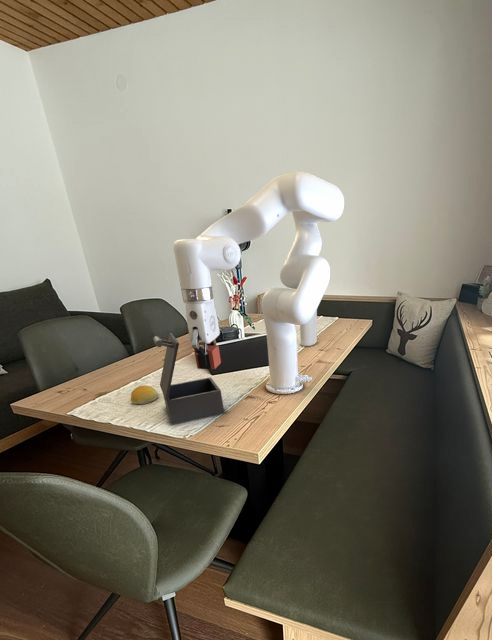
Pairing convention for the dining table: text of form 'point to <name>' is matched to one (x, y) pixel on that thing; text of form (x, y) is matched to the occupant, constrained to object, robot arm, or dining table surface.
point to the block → (211, 356)
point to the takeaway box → (194, 400)
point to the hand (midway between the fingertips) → (209, 364)
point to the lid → (167, 362)
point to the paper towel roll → (309, 331)
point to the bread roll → (143, 395)
